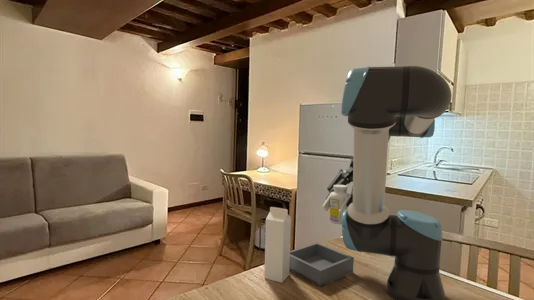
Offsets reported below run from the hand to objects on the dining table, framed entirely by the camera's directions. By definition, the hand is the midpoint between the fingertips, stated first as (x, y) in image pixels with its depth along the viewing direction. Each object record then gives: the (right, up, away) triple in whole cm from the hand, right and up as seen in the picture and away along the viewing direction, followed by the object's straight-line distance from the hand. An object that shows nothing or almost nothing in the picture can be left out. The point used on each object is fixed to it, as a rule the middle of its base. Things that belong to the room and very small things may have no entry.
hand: (332, 211), depth 111 cm
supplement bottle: (+3, -5, +3) cm, 6 cm away
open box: (-6, -19, -4) cm, 20 cm away
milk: (-19, -19, -9) cm, 29 cm away
